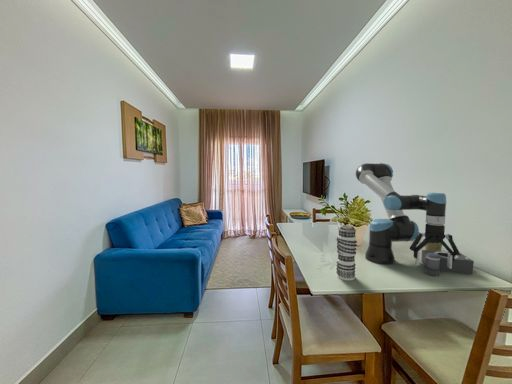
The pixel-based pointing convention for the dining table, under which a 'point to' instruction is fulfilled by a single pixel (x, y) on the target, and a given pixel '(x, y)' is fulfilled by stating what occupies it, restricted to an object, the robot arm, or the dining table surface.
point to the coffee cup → (433, 246)
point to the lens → (432, 264)
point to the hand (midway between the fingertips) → (433, 266)
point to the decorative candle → (346, 253)
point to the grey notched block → (458, 266)
